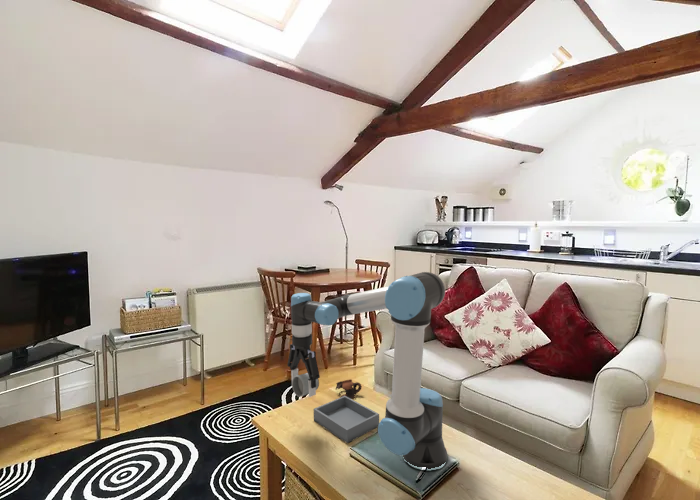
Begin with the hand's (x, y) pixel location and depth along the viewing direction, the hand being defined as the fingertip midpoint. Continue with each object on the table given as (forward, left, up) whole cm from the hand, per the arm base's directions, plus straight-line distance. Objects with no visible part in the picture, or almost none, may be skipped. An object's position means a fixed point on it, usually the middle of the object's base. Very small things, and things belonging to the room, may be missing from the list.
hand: (303, 390), depth 147 cm
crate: (-8, -15, -16) cm, 23 cm away
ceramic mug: (0, 0, -1) cm, 1 cm away
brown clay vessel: (+10, -31, -16) cm, 36 cm away
